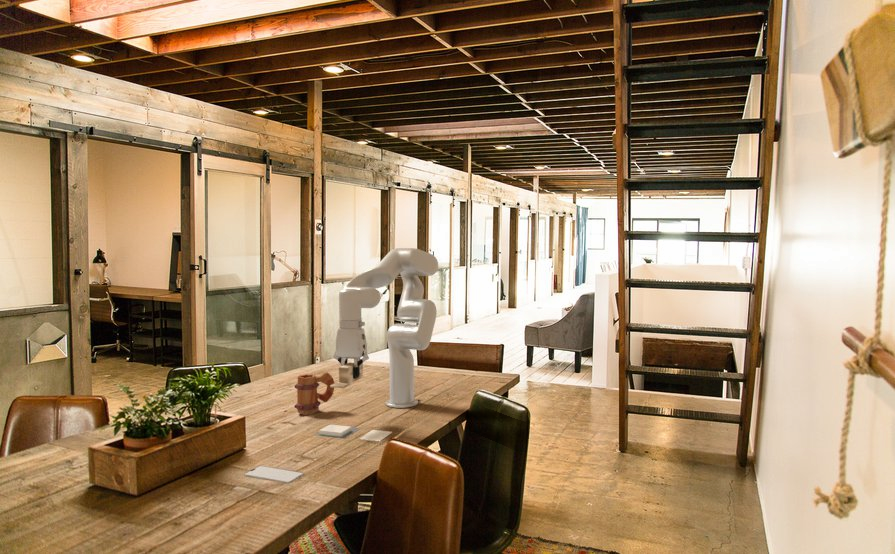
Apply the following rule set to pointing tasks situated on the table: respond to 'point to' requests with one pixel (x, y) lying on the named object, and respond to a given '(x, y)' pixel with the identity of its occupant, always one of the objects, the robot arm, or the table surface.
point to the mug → (312, 392)
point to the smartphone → (274, 474)
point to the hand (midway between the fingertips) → (351, 377)
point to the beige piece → (347, 375)
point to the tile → (335, 430)
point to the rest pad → (375, 435)
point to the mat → (353, 429)
